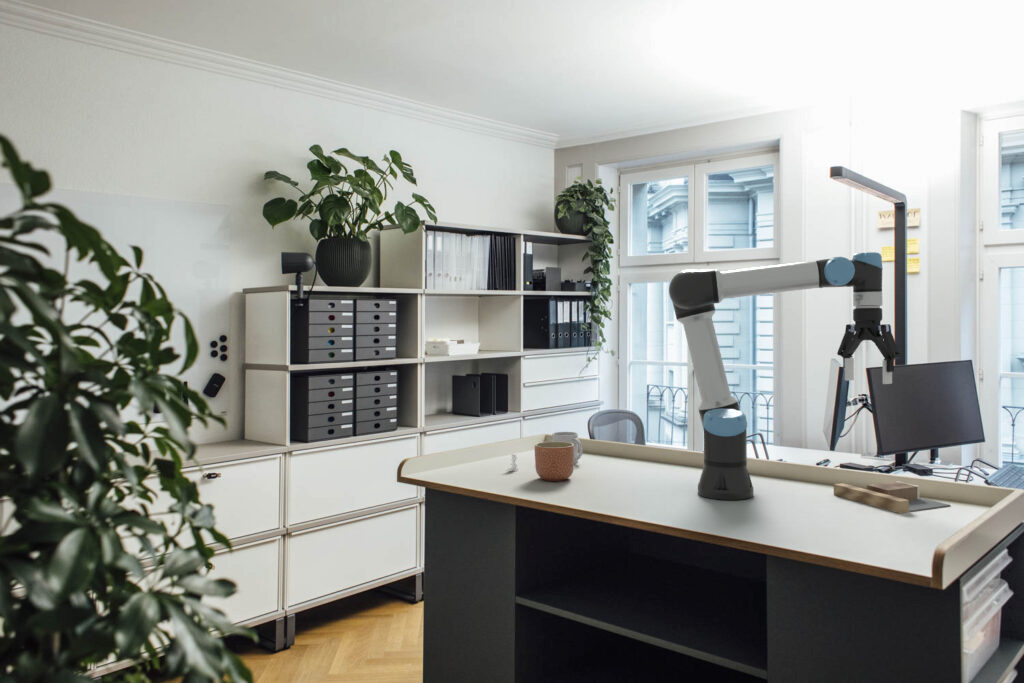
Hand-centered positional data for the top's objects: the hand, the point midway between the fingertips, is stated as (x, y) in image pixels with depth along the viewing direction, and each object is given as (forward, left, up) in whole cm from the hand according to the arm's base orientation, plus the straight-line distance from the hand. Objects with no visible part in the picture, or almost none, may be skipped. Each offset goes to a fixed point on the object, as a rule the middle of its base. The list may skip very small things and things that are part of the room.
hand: (867, 382), depth 216 cm
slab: (+12, -9, -29) cm, 32 cm away
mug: (-74, -60, -31) cm, 100 cm away
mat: (+12, -3, -31) cm, 33 cm away
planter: (-51, -75, -31) cm, 96 cm away
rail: (+12, -12, -31) cm, 35 cm away
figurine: (-69, -82, -31) cm, 112 cm away
